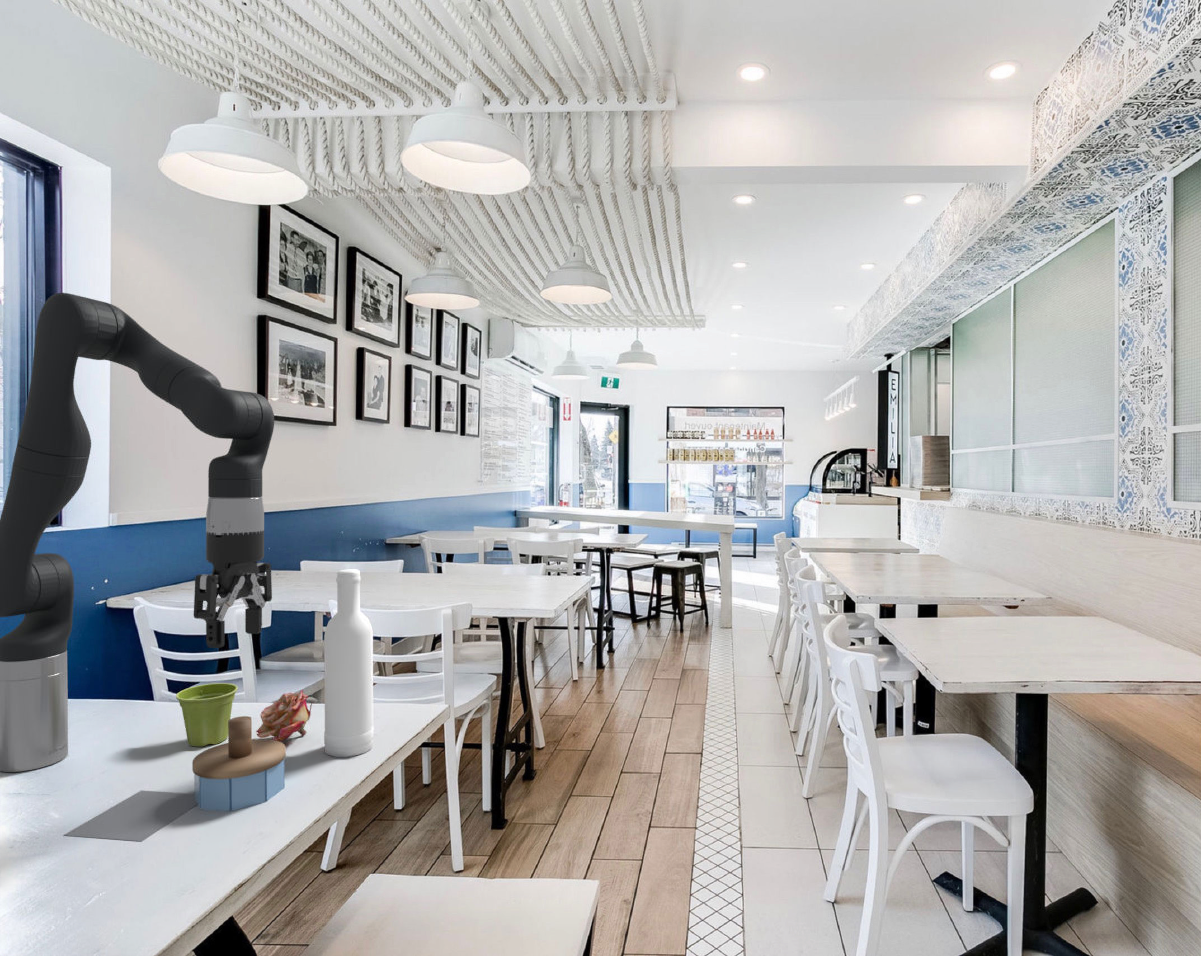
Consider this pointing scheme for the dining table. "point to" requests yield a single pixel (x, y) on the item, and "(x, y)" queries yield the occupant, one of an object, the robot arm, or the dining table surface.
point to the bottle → (348, 673)
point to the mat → (137, 816)
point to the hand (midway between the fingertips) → (235, 640)
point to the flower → (285, 717)
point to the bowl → (239, 789)
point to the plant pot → (207, 712)
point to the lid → (239, 754)
